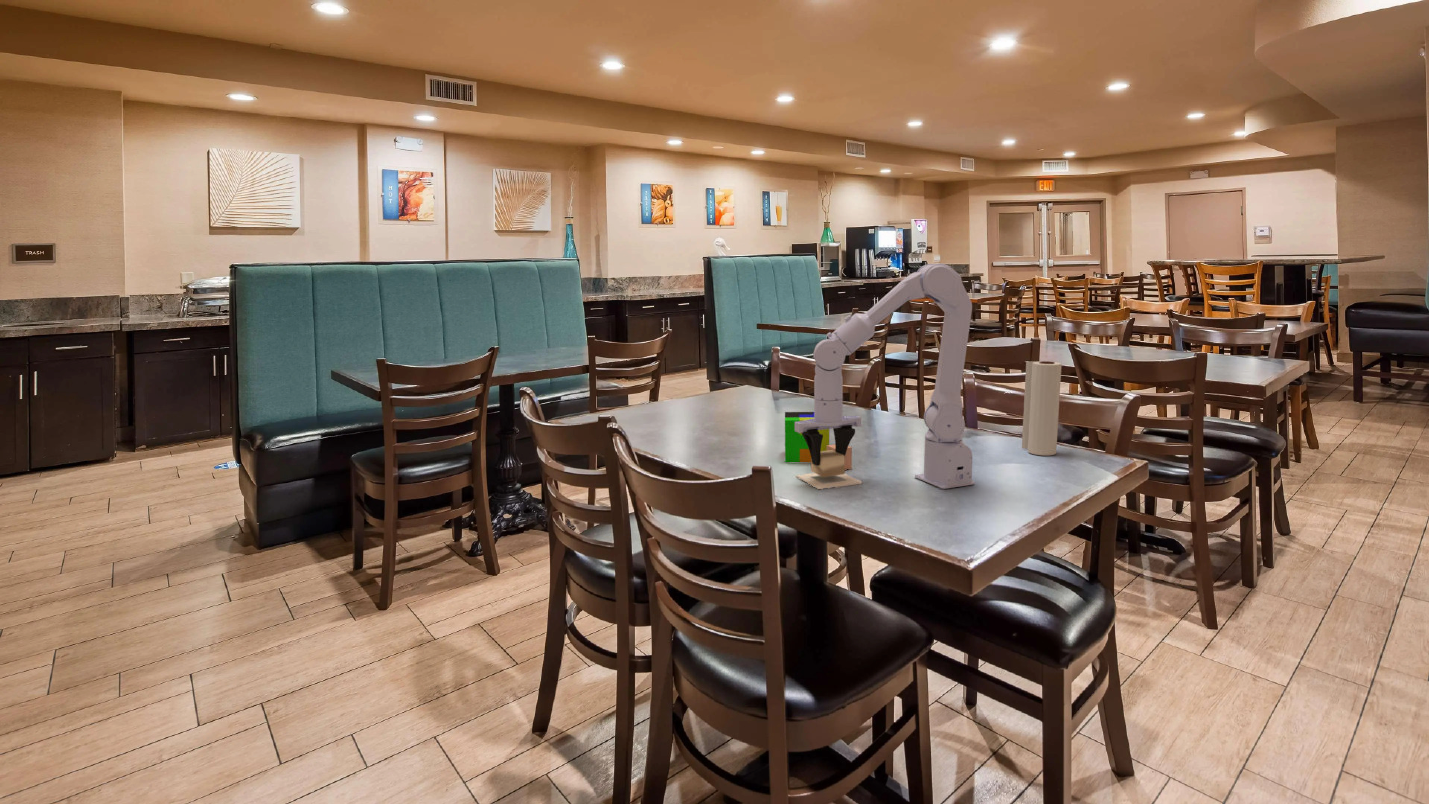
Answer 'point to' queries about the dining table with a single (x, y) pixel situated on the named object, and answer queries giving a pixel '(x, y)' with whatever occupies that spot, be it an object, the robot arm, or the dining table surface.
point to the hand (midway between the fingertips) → (828, 462)
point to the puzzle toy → (800, 438)
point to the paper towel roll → (1041, 407)
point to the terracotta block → (847, 456)
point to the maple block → (829, 464)
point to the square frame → (828, 480)
